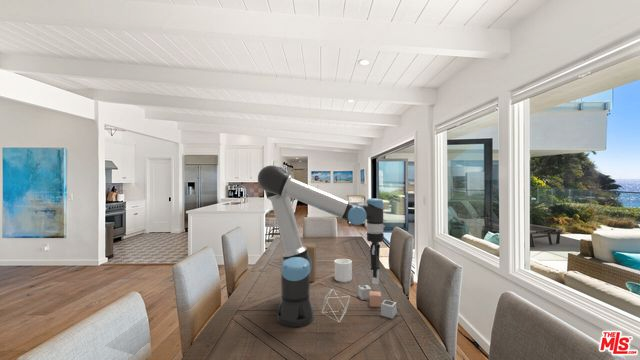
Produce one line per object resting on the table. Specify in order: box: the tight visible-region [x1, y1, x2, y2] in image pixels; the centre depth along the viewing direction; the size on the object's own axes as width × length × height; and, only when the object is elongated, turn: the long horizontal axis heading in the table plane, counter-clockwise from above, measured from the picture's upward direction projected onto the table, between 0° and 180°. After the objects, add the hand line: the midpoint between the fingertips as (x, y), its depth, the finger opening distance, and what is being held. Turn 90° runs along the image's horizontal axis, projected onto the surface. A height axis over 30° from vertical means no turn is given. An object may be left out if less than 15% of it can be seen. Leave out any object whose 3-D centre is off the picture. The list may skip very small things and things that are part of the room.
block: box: [302, 242, 317, 283], centre depth 159 cm, size 10×10×20 cm
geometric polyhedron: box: [321, 288, 351, 323], centre depth 117 cm, size 12×11×9 cm
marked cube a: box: [380, 299, 398, 320], centre depth 117 cm, size 5×5×5 cm
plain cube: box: [369, 290, 382, 308], centre depth 127 cm, size 5×5×5 cm
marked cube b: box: [357, 284, 372, 301], centre depth 135 cm, size 5×5×5 cm
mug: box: [334, 258, 353, 283], centre depth 161 cm, size 13×10×10 cm
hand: (375, 283), depth 127 cm, fingers closed
